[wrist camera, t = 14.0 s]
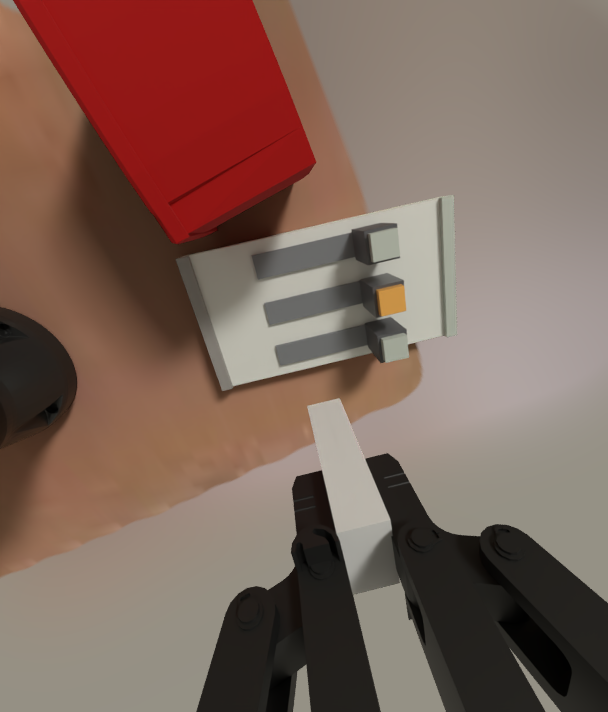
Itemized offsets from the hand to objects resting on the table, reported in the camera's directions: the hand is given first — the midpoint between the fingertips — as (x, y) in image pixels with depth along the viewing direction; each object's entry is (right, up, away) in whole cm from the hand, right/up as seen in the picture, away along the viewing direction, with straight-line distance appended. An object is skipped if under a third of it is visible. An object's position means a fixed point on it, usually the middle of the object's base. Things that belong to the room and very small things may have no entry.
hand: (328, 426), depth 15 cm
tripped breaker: (+6, +10, +20) cm, 23 cm away
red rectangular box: (-10, +25, +15) cm, 31 cm away
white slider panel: (+1, +10, +22) cm, 25 cm away
